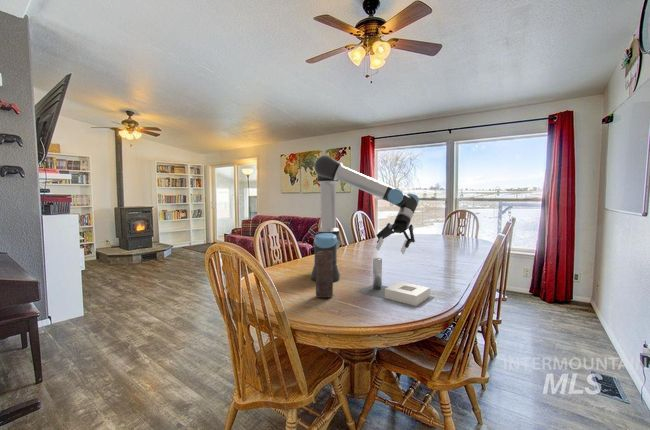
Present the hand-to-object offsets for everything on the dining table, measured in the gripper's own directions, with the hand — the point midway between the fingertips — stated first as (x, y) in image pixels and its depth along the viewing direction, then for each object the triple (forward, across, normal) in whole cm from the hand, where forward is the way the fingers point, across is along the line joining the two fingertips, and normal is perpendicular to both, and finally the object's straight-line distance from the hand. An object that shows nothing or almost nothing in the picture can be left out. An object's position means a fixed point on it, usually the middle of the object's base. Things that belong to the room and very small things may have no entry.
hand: (389, 250), depth 148 cm
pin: (+19, 0, -4) cm, 20 cm away
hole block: (+21, -16, -3) cm, 26 cm away
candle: (+37, +12, +13) cm, 41 cm away
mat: (+21, -10, -3) cm, 23 cm away
